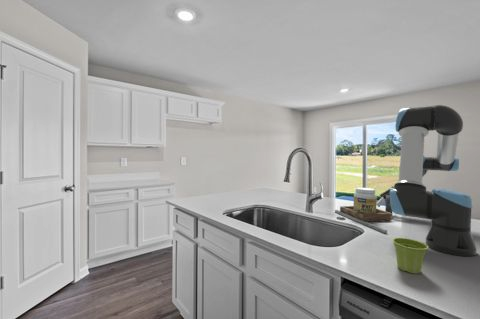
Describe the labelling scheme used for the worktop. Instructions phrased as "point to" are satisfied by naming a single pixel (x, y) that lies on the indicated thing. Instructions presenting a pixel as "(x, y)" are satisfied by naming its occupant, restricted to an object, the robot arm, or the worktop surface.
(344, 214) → the rail
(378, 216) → the wooden tray
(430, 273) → the worktop surface
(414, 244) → the plant pot
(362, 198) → the supplement tub
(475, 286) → the worktop surface
